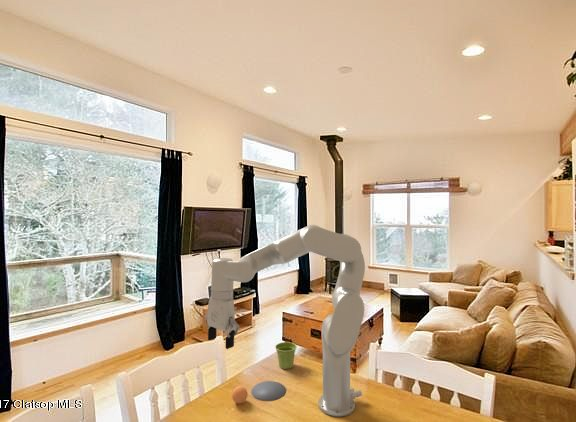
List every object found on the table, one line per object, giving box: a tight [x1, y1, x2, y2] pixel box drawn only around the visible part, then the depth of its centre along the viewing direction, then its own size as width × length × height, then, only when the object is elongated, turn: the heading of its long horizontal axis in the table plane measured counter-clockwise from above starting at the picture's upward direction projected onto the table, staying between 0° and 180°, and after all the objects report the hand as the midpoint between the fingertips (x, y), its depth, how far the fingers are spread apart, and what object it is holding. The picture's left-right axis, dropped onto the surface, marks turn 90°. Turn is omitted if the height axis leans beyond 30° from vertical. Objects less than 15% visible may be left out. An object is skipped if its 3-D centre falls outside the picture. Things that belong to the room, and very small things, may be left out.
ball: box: [231, 385, 249, 404], centre depth 119 cm, size 6×6×6 cm
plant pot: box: [274, 341, 297, 370], centre depth 146 cm, size 9×9×9 cm
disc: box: [251, 380, 287, 402], centre depth 127 cm, size 13×13×1 cm
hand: (220, 343), depth 116 cm, fingers open, 9 cm apart
